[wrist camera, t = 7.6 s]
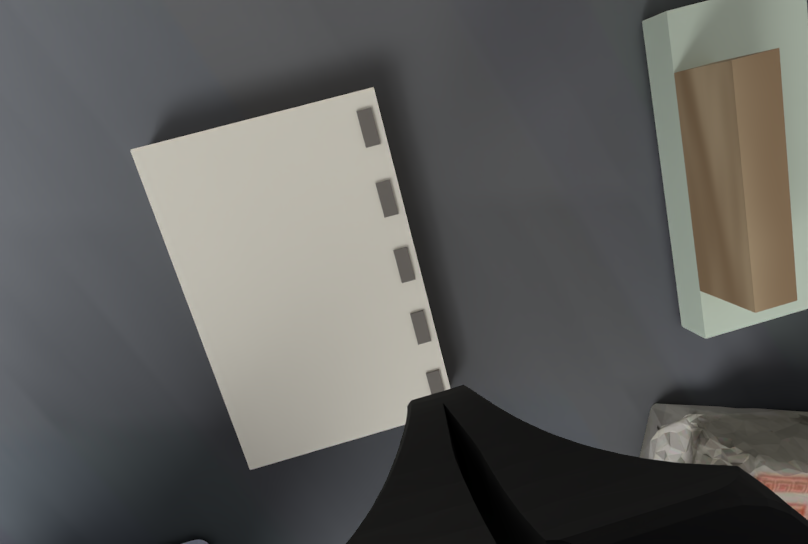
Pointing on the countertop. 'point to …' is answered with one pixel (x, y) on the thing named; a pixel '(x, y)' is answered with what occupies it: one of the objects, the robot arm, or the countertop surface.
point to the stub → (733, 157)
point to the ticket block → (298, 273)
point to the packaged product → (736, 444)
